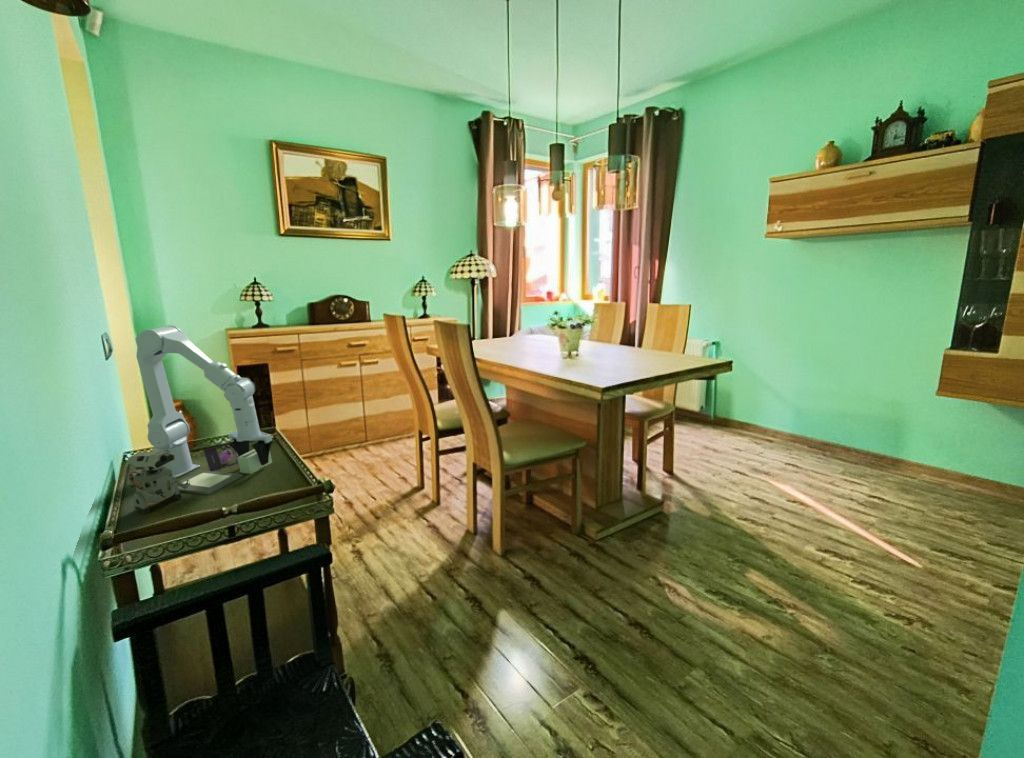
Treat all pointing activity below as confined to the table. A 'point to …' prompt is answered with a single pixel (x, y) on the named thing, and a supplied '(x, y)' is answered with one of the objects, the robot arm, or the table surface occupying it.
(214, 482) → the mat
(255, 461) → the mint slotted box
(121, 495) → the table surface
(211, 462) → the game card
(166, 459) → the figurine
